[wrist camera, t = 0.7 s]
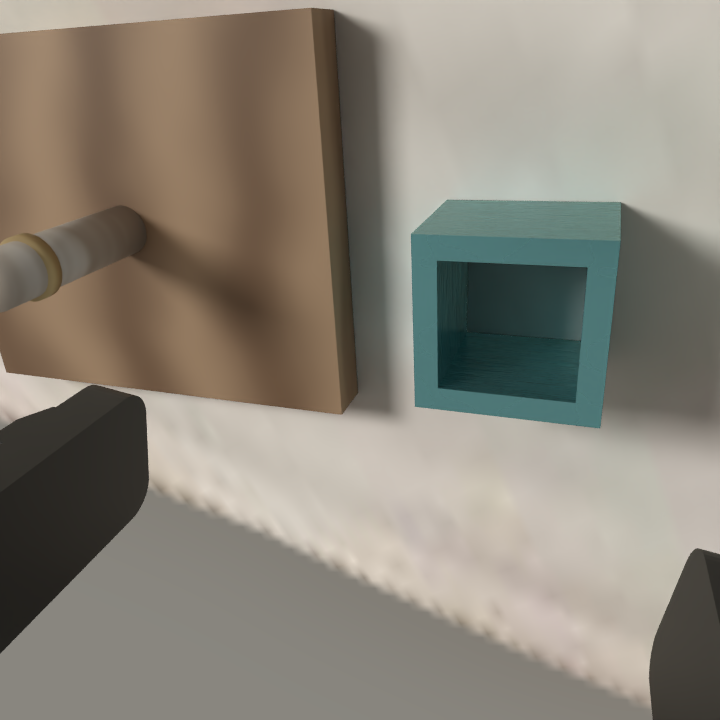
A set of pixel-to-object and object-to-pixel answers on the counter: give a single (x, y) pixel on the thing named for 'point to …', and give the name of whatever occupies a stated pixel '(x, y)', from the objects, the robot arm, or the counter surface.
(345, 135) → the counter surface
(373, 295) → the counter surface
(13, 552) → the robot arm
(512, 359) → the collar
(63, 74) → the post board
